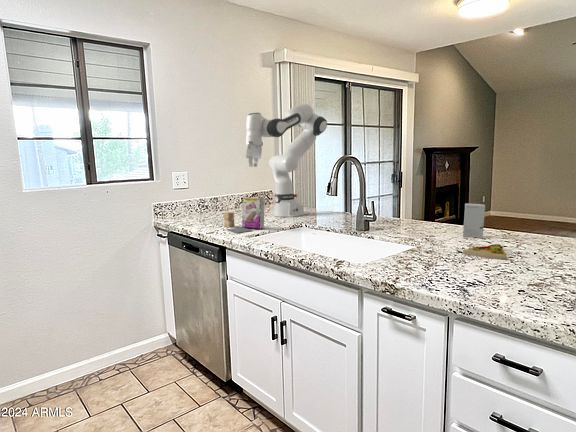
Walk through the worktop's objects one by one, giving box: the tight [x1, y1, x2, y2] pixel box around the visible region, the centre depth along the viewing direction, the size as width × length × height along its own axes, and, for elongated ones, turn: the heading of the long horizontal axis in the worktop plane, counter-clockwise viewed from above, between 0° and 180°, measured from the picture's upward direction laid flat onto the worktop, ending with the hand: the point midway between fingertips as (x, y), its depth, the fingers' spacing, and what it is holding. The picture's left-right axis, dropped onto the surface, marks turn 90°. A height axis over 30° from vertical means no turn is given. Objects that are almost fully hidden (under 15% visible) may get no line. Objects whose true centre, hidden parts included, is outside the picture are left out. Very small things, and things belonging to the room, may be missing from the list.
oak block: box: [223, 211, 235, 229], centre depth 215 cm, size 4×4×8 cm
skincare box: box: [462, 203, 486, 239], centre depth 174 cm, size 8×6×15 cm
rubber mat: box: [225, 226, 254, 234], centre depth 203 cm, size 10×12×1 cm
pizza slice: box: [461, 243, 509, 261], centre depth 147 cm, size 16×21×3 cm
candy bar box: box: [241, 196, 266, 230], centre depth 208 cm, size 11×5×16 cm, turn 65°
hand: (253, 166), depth 219 cm, fingers open, 8 cm apart
